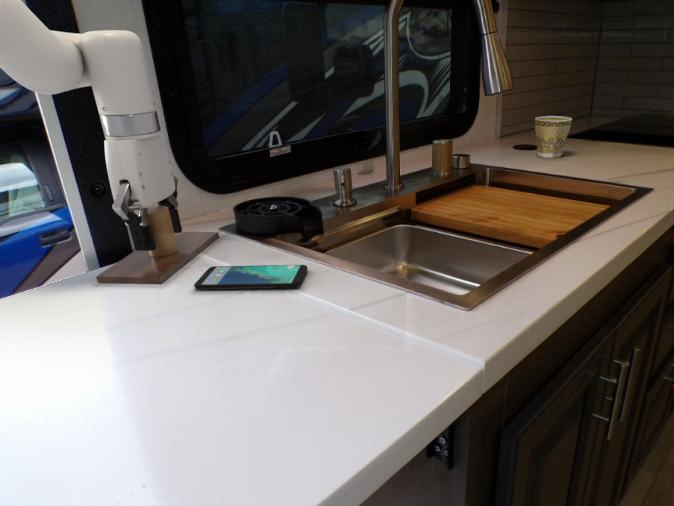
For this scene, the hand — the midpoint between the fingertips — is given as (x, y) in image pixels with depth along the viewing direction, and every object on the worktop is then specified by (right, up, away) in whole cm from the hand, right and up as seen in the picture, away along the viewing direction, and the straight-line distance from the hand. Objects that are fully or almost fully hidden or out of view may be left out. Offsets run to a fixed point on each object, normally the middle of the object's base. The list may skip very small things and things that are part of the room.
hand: (159, 240), depth 84 cm
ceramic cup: (+82, +32, +66) cm, 110 cm away
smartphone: (+17, -7, -8) cm, 20 cm away
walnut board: (0, -3, +1) cm, 3 cm away
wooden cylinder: (0, -2, +1) cm, 2 cm away
